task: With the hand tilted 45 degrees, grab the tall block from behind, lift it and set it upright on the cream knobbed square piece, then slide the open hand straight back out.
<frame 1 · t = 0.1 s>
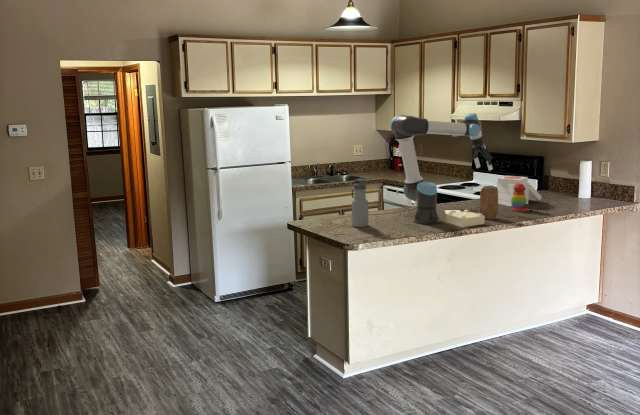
hand: (484, 168, 395), 28 cm above the countertop, tool tilted 20°, fingers open, 13 cm apart
cream knobbed square piece: (464, 222, 367), on the countertop
white storage box: (517, 203, 425), on the countertop
water bottle: (360, 226, 365), on the countertop
stacking bear: (518, 210, 401), on the countertop
instruction sheet: (453, 212, 397), on the countertop
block: (488, 218, 378), on the countertop
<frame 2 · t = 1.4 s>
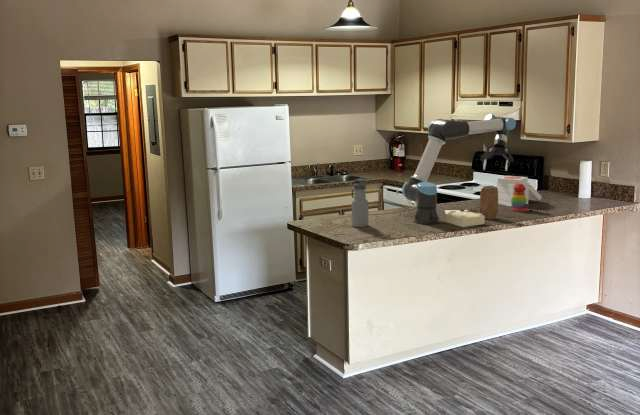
hand: (494, 169, 385), 29 cm above the countertop, tool tilted 45°, fingers open, 13 cm apart
nothing on the countertop moved.
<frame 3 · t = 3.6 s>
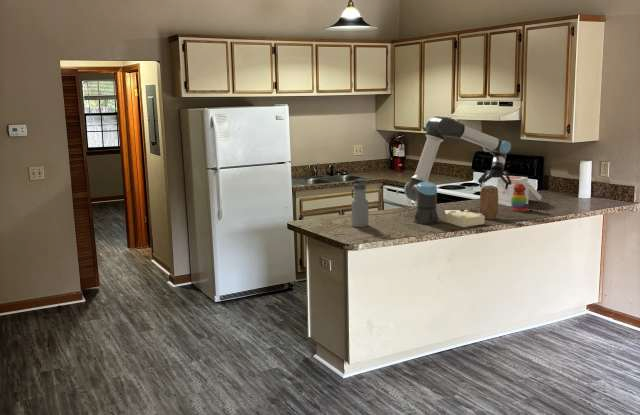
hand: (492, 192, 381), 15 cm above the countertop, tool tilted 45°, fingers open, 13 cm apart
nothing on the countertop moved.
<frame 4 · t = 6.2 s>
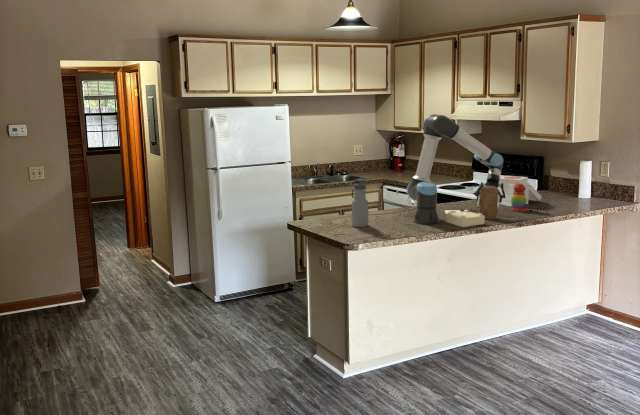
hand: (487, 205, 374), 8 cm above the countertop, tool tilted 45°, fingers closed on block, 11 cm apart
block: (488, 218, 378), on the countertop, touching gripper
everything else where it was.
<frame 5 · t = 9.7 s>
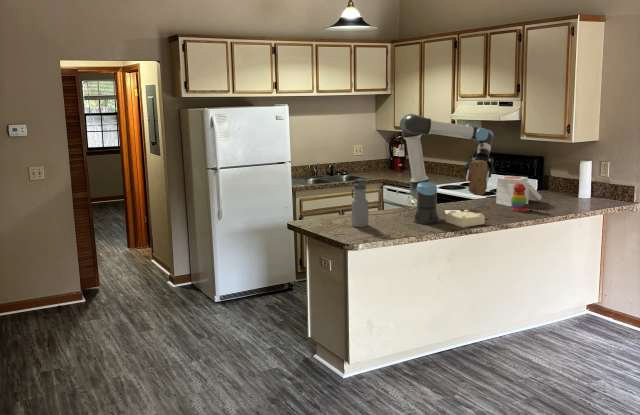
hand: (476, 180, 365), 25 cm above the countertop, tool tilted 45°, fingers closed on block, 11 cm apart
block: (476, 193, 369), point 17 cm above the countertop, touching gripper
everything else where it was.
when the fingers open (14 cm above the countertop, at t = 13.6 s): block stays where it is, resting on cream knobbed square piece.
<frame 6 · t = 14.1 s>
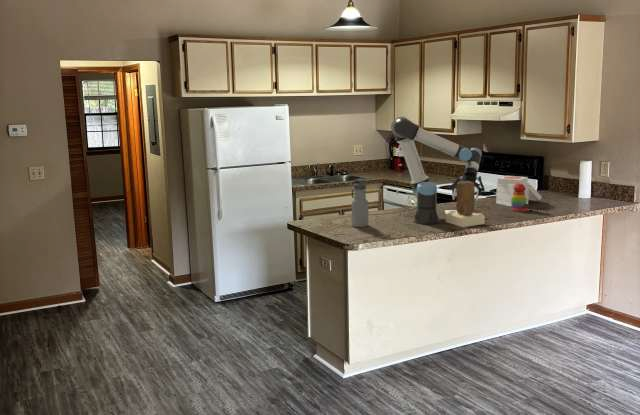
hand: (464, 199, 363), 15 cm above the countertop, tool tilted 45°, fingers open, 13 cm apart
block: (464, 214, 367), point 5 cm above the countertop, touching cream knobbed square piece
everything else where it was.
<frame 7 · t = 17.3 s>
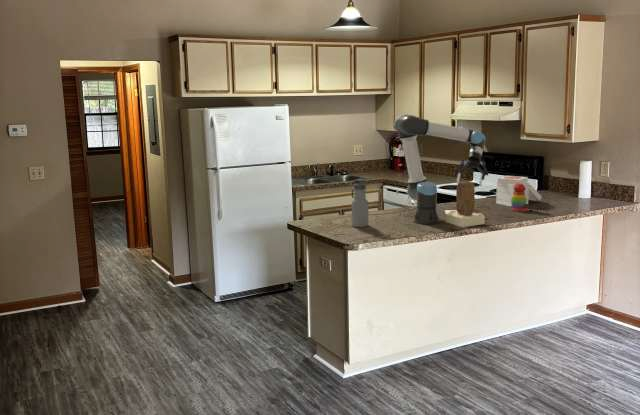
hand: (468, 183, 369), 23 cm above the countertop, tool tilted 45°, fingers open, 13 cm apart
nothing on the countertop moved.
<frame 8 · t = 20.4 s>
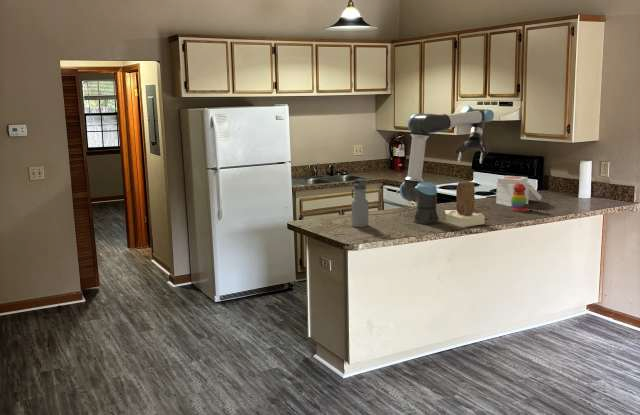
hand: (469, 161, 384), 34 cm above the countertop, tool tilted 45°, fingers open, 13 cm apart
nothing on the countertop moved.
at the end: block 1.1 cm off-centre on the cream knobbed square piece, point 4.8 cm above the cream knobbed square piece's base; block tilted 0°; the gripper is holding nothing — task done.
